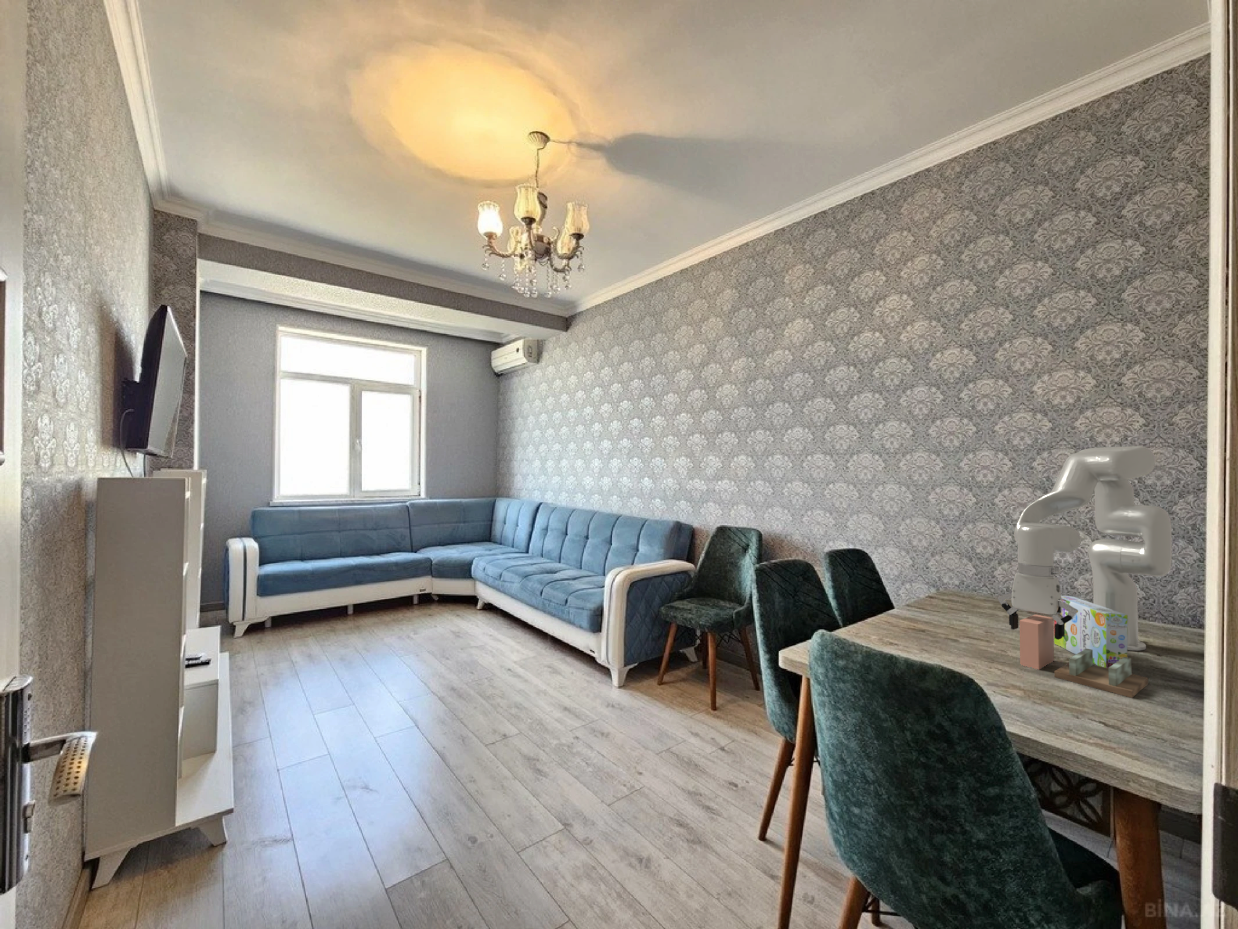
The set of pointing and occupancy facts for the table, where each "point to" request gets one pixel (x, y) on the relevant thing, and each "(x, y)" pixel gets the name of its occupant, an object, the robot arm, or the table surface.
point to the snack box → (1095, 632)
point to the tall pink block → (1036, 641)
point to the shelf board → (1102, 674)
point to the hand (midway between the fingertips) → (1036, 633)
